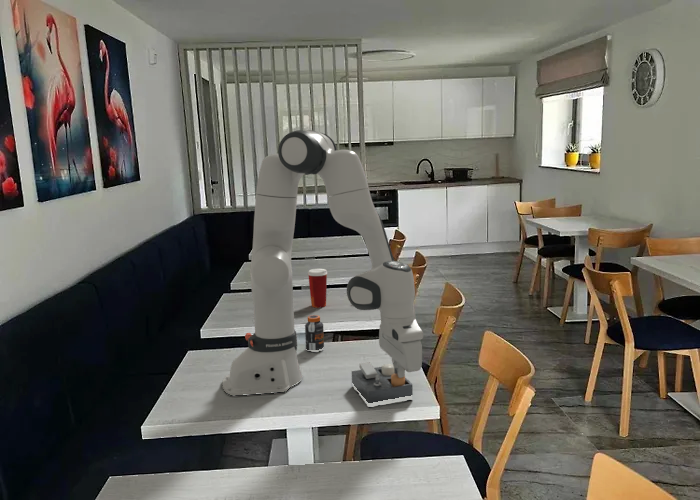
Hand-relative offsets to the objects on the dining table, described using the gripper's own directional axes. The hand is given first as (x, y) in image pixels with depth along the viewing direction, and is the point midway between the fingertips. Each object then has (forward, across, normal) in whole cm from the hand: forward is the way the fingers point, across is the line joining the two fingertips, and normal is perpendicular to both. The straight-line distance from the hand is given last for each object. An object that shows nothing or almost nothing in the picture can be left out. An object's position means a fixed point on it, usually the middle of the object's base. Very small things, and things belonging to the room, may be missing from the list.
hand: (399, 375), depth 150 cm
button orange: (+4, 0, 0) cm, 4 cm away
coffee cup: (+6, -93, +3) cm, 93 cm away
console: (+6, -4, -4) cm, 8 cm away
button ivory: (+4, -7, 0) cm, 8 cm away
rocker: (0, -7, -6) cm, 9 cm away
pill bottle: (+6, -43, -12) cm, 45 cm away
